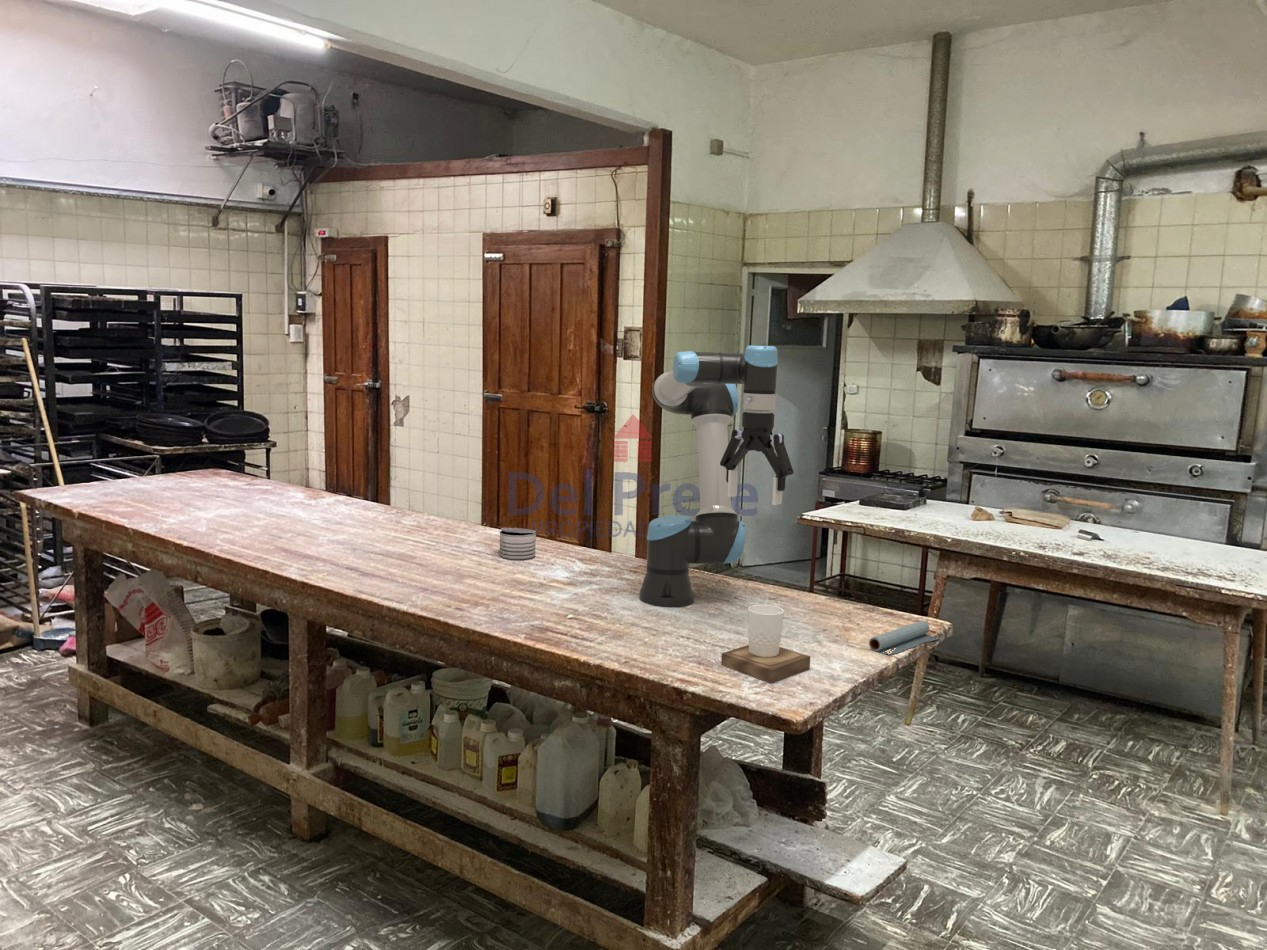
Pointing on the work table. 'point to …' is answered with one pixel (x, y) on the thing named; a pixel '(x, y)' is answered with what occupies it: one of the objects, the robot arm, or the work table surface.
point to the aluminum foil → (901, 638)
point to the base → (766, 663)
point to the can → (517, 544)
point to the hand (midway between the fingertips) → (754, 500)
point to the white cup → (764, 630)
